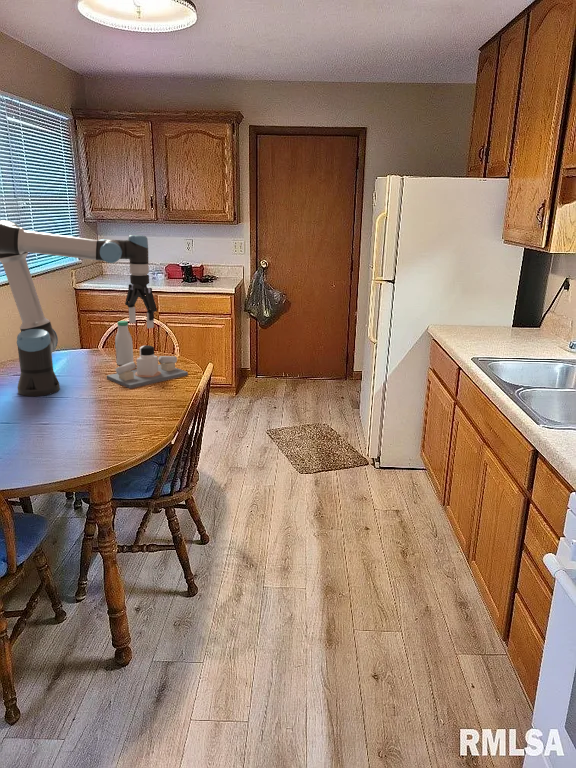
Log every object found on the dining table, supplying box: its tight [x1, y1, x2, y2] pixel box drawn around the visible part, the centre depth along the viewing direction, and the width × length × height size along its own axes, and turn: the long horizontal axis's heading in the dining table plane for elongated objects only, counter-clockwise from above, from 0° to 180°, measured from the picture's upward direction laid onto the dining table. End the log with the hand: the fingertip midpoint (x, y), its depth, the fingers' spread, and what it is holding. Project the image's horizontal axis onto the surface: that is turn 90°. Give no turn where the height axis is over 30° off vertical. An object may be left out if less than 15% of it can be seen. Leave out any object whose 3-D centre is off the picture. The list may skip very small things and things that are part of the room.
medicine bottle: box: [136, 344, 159, 376], centre depth 238 cm, size 7×7×12 cm
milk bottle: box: [114, 320, 134, 366], centre depth 256 cm, size 8×8×20 cm
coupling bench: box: [106, 355, 189, 390], centre depth 239 cm, size 29×18×8 cm, turn 137°
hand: (141, 325), depth 234 cm, fingers open, 13 cm apart
